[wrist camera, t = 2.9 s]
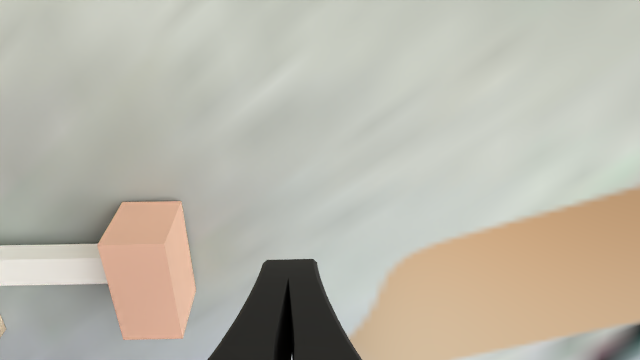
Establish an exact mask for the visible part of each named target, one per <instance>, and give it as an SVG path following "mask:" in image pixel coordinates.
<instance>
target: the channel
mask: <svg viewBox="0 0 640 360" xmlns="http://www.w3.org/2000/svg"><path fill="white" fill-rule="evenodd" d="M5 330H6V327H5V325H4V322H3V320H2V318H1V316H0V337H1V336H2V334H3V333H4V331H5Z"/></svg>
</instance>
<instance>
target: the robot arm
mask: <svg viewBox="0 0 640 360" xmlns="http://www.w3.org/2000/svg"><path fill="white" fill-rule="evenodd" d="M291 356H292V358H293V360H362V359H361V357H360V356H359V354H358V353H357V351H356V350H355V348H354V347H353V345H352V343H351V342H350V340H349V338H348V337H347V335H346V333H345V331H344V330H343V328H342V326H341V324H340V322H339V320H338V318H337V316H336V314H335V312H334V310H333V308H332V306H331V304H330V302H329V300H328V297H327V295H326V292H325V290H324V287H323V284H322V282H321V279H320V275H319V271H318V267H317V262H316V261H315V260H313V259H292V260H267V261H265V262H264V263H263V265H262V268H261V271H260V273H259V276H258V278H257V280H256V283H255V285H254V287H253V289H252V291H251V293H250V295H249V297H248V298H247V300H246V302H245V304H244V306H243V307H242V309H241V311H240V313H239V314H238V316H237V318H236V319H235V321H234V322H233V324H232V326H231V327H230V329H229V330H228V332H227V333H226V335H225V336H224V338H223V339H222V341H221V342H220V344H219V345H218V346H217V348H216V349H215V351H214V352H213V353H212V355H211V356H210V357H209V358H208V360H291Z"/></svg>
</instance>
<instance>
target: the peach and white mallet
mask: <svg viewBox="0 0 640 360" xmlns="http://www.w3.org/2000/svg"><path fill="white" fill-rule="evenodd" d="M66 284H108V286H109V290H110V293H111V297H112V300H113V304H114V308H115V311H116V315H117V318H118V322H119V326H120V329H121V333H122V336H123V340H138V339H183V336H184V332H185V329H186V325H187V321H188V318H189V314H190V310H191V307H192V303H193V299H194V296H195V292H196V287H195V281H194V275H193V269H192V262H191V256H190V250H189V244H188V238H187V232H186V226H185V220H184V214H183V208H182V202H181V201H160V202H122V203H121V205H120V207H119V209H118V210H117V212H116V214H115V215H114V217H113V219H112V221H111V222H110V224H109V226H108V227H107V229H106V231H105V232H104V234H103V236H102V238H101V239H100V241H99V243H98V244H52V245H0V286H13V285H66Z"/></svg>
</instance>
